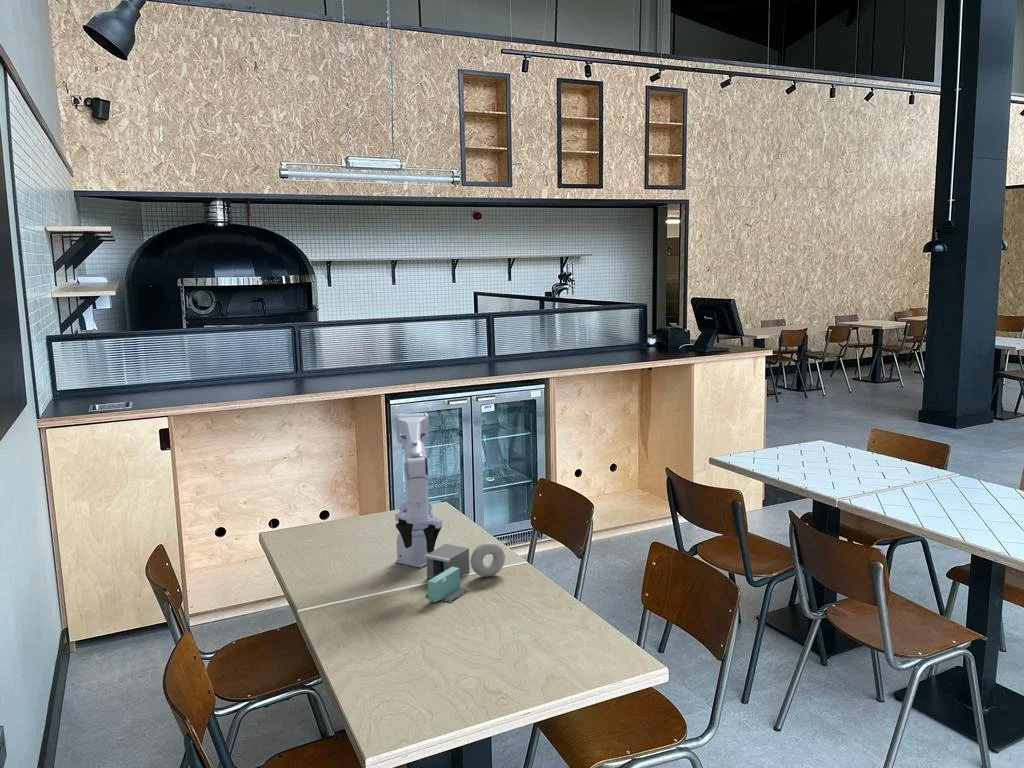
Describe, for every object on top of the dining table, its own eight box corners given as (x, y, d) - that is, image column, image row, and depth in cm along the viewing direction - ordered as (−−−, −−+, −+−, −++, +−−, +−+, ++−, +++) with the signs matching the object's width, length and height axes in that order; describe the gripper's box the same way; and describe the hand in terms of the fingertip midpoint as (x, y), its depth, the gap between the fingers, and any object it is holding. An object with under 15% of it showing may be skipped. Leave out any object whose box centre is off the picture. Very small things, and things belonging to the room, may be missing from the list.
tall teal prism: (428, 600, 196) (427, 581, 196) (452, 585, 206) (452, 566, 205) (435, 602, 195) (435, 582, 194) (460, 586, 204) (459, 568, 204)
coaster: (425, 596, 200) (425, 594, 200) (443, 585, 207) (443, 583, 207) (451, 602, 196) (450, 600, 196) (468, 591, 203) (468, 589, 203)
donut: (473, 581, 209) (472, 546, 208) (469, 577, 212) (468, 542, 211) (507, 575, 213) (506, 541, 212) (502, 571, 216) (502, 537, 215)
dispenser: (425, 579, 212) (424, 555, 211) (446, 567, 220) (445, 543, 219) (449, 584, 208) (448, 560, 207) (469, 572, 216) (468, 548, 215)
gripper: (387, 501, 207) (389, 549, 209) (430, 508, 199) (432, 558, 201) (403, 494, 213) (405, 541, 215) (446, 501, 205) (447, 550, 207)
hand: (419, 549), depth 208 cm, fingers open, 7 cm apart
